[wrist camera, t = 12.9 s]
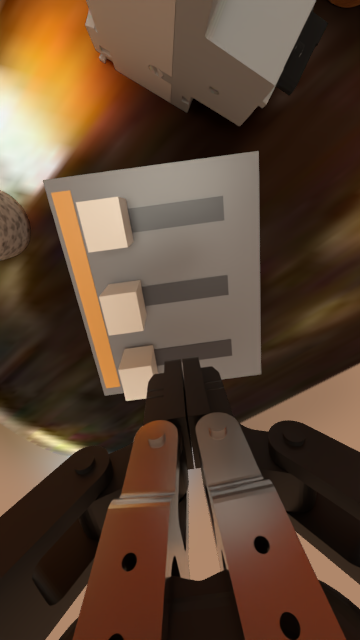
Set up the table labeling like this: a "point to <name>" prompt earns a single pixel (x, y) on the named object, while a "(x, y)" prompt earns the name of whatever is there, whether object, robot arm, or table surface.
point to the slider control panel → (173, 261)
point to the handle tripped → (123, 307)
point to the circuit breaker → (208, 48)
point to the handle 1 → (105, 223)
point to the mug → (12, 227)
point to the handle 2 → (137, 371)
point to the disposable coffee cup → (345, 3)
